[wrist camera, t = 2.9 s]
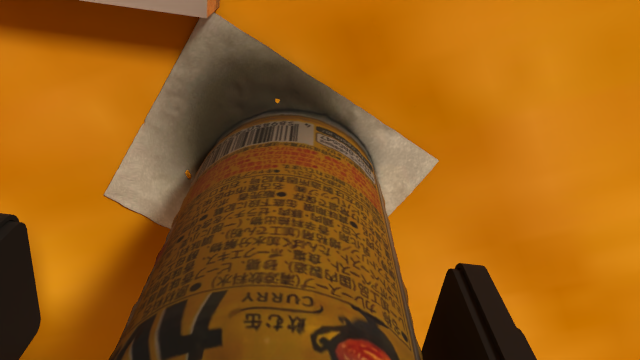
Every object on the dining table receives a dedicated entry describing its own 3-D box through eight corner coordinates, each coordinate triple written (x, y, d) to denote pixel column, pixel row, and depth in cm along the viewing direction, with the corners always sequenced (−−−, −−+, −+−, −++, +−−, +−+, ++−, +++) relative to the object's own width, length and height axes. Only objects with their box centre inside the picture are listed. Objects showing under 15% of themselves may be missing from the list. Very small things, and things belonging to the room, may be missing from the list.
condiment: (313, 299, 19) (312, 789, 8) (105, 192, 16) (-272, 681, 6) (437, 157, 16) (680, 622, 5) (208, 4, 14) (-158, 292, 3)
